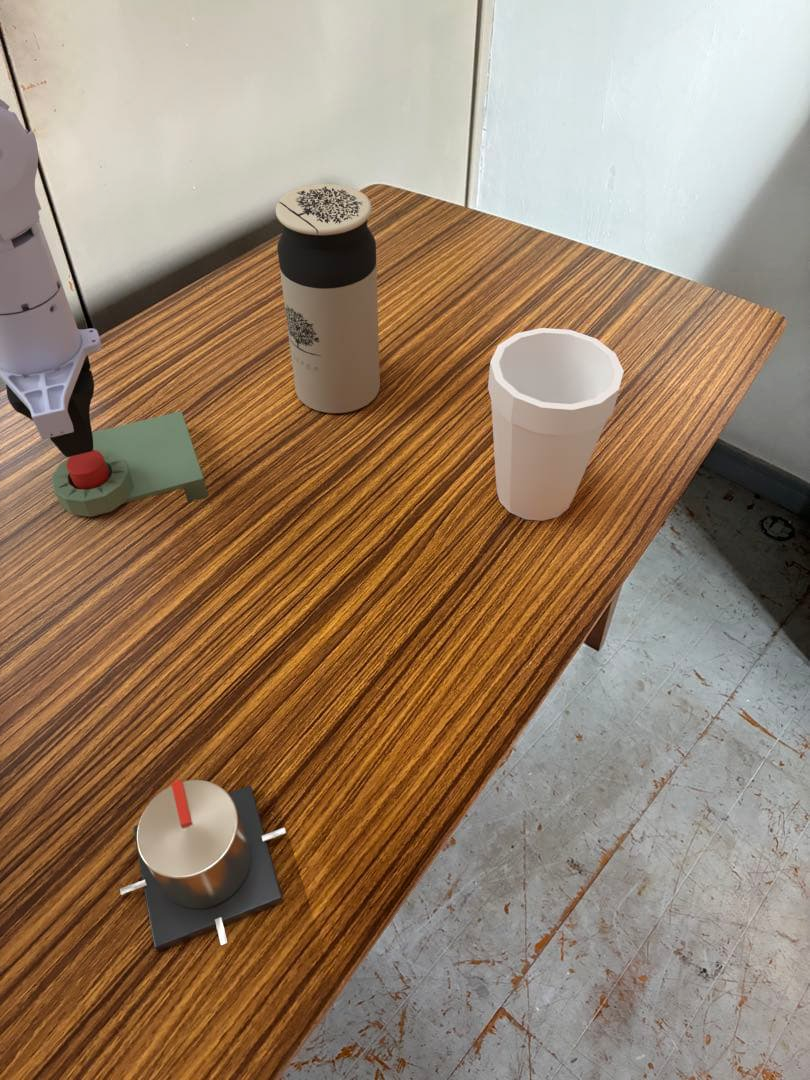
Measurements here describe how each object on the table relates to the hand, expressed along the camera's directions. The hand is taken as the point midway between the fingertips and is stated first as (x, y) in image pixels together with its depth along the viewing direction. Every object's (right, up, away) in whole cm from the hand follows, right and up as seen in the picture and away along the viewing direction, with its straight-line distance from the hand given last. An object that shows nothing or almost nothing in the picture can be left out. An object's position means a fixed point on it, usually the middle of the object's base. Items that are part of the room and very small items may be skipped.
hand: (78, 448), depth 62 cm
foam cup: (+36, -3, +7) cm, 36 cm away
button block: (+2, -2, +8) cm, 8 cm away
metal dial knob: (+14, -25, -16) cm, 33 cm away
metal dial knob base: (+14, -27, -14) cm, 33 cm away
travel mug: (+18, +7, +15) cm, 25 cm away
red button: (0, -2, +2) cm, 3 cm away
